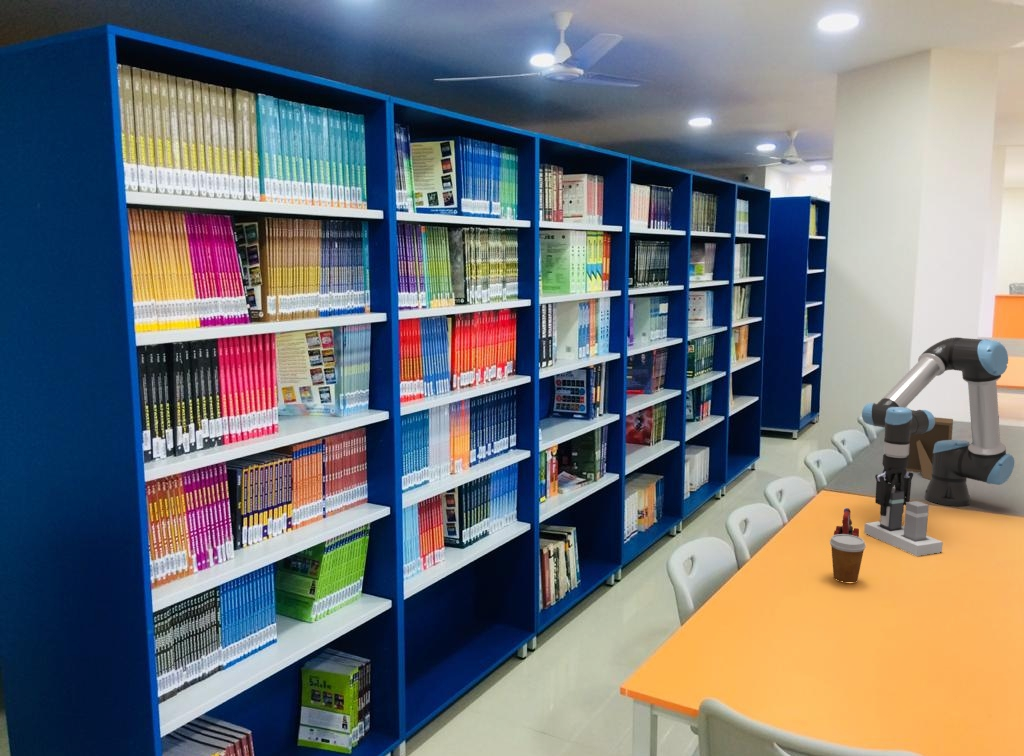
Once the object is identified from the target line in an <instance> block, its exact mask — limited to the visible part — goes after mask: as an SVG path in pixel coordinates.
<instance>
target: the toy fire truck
mask: <svg viewBox="0 0 1024 756" xmlns="http://www.w3.org/2000/svg"><path fill="white" fill-rule="evenodd" d="M841 521H842V522H841V523H842V525H841V526H840V525H837V526H835V530H834V532H833V536H834V535H837V534H847V535H853V536H857V537H859V535H860V529H859V528H856V527H853V526H852V524H853V521H852V519H851V509H850V508H844V510H843V516H842V520H841Z"/></svg>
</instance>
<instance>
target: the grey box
mask: <svg viewBox="0 0 1024 756" xmlns="http://www.w3.org/2000/svg"><path fill="white" fill-rule="evenodd" d="M903 503H904V492H903V491H899V490H896V489H895V487H893V488H892V492H891V494H890V500H889V504H888V506H889V507H890V514H889V526H885V525H883V524H881V518H880V519H879V521H880V527H881V528H884V529H886V530H888V531H896V530H901V528H902V526H903V514H904V511H903Z"/></svg>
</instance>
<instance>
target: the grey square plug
mask: <svg viewBox="0 0 1024 756" xmlns="http://www.w3.org/2000/svg"><path fill="white" fill-rule="evenodd" d="M929 508H930V506H929V504H927V503H924V502H921V501H919V500H915V501H913V500H912V501H909V502H906V505H905V511H904V524H903V526H904V537H905V538H907V539H910V540H912V541H914V542H917V541H923V540H926V535H927V532H928V518H929ZM927 536H928V535H927Z"/></svg>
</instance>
